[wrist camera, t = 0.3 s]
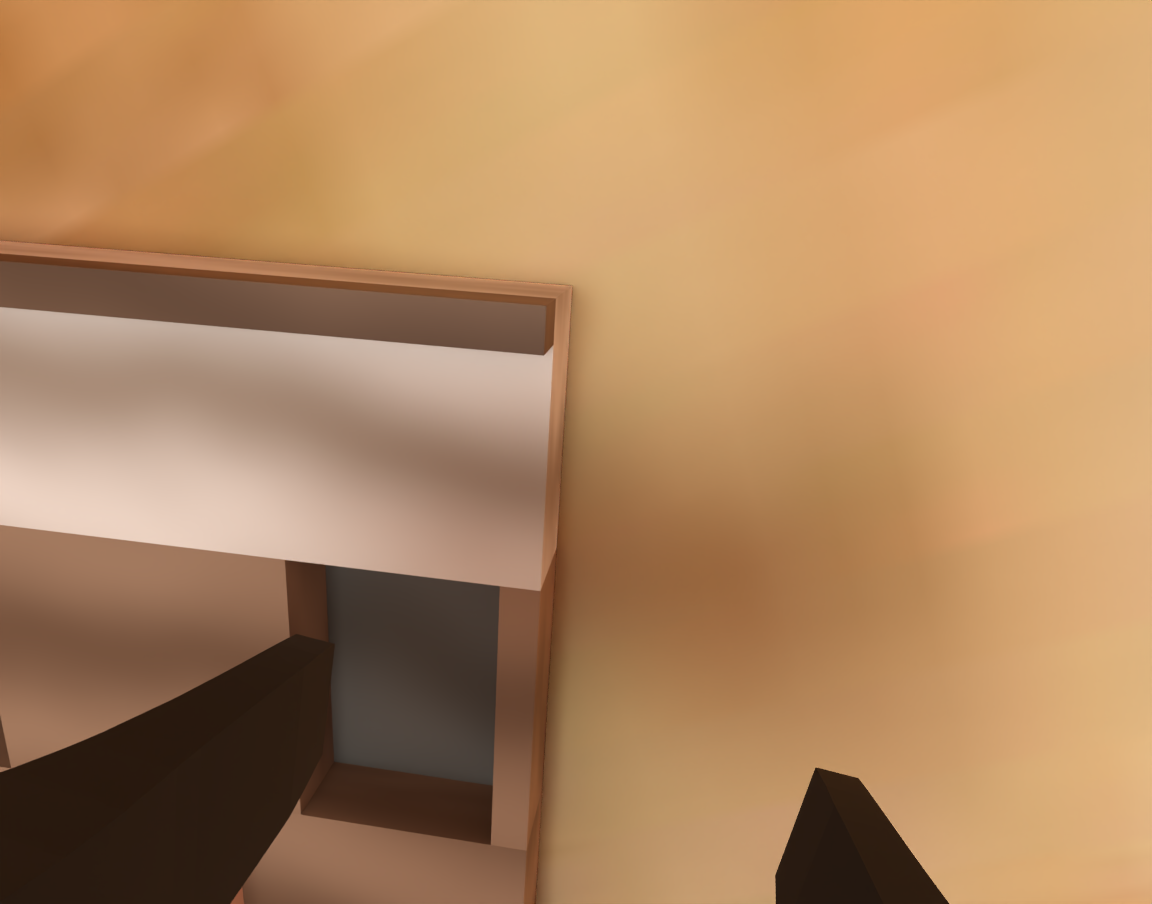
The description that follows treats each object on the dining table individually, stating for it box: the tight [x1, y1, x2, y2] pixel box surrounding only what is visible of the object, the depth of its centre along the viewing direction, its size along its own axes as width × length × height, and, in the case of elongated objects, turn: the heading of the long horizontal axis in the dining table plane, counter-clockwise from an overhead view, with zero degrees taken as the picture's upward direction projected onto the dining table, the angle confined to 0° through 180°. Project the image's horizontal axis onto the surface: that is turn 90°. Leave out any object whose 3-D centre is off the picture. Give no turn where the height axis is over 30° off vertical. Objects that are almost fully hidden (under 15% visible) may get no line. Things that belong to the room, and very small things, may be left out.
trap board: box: [0, 240, 572, 904], centre depth 22 cm, size 24×22×4 cm
